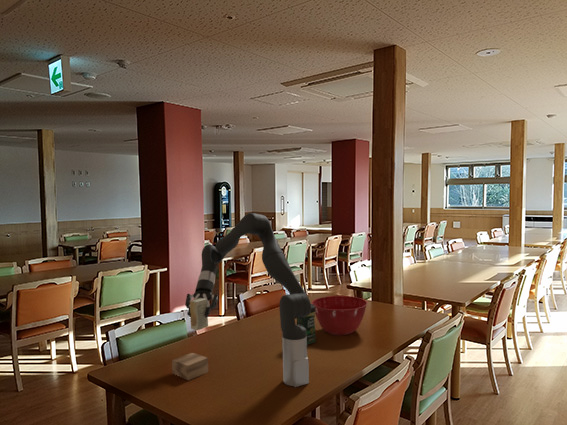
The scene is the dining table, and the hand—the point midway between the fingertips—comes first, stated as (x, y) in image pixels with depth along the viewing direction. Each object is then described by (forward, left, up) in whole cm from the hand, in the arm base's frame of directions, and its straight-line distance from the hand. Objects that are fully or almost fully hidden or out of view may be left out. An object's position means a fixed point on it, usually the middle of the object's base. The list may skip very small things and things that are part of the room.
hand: (197, 316), depth 179 cm
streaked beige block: (-7, +6, -20) cm, 23 cm away
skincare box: (+1, -1, -6) cm, 6 cm away
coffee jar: (-5, -52, -20) cm, 56 cm away
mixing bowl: (-1, -76, -20) cm, 79 cm away
